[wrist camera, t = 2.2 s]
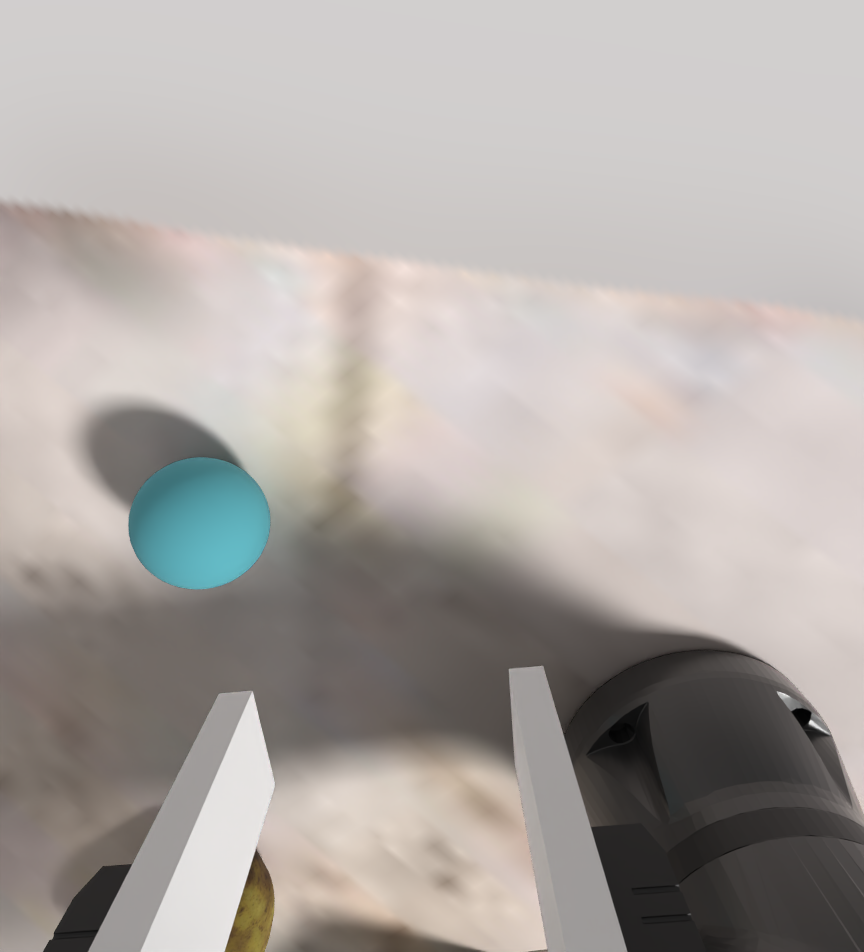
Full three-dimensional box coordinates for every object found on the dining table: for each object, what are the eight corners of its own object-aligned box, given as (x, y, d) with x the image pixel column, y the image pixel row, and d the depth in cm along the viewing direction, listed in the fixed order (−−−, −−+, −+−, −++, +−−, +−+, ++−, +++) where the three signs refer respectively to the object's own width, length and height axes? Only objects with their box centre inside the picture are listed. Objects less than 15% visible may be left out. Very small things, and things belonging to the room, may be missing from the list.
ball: (271, 436, 28) (231, 476, 22) (293, 546, 30) (261, 609, 24) (151, 448, 28) (81, 490, 23) (180, 557, 30) (123, 621, 25)
